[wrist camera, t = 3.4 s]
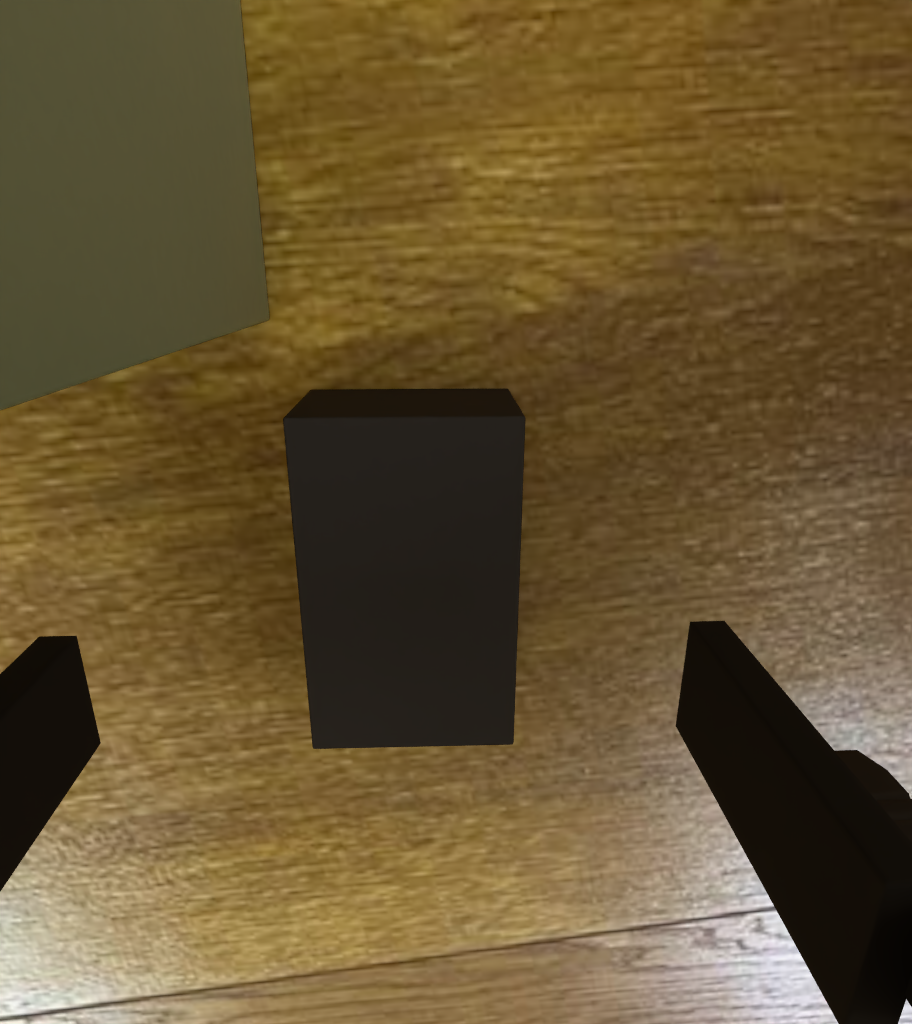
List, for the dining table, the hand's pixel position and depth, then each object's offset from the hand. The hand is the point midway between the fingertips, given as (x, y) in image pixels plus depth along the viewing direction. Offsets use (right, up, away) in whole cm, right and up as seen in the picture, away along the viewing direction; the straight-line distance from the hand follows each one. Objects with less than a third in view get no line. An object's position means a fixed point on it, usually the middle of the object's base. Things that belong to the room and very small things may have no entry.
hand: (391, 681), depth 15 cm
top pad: (0, +3, +7) cm, 8 cm away
